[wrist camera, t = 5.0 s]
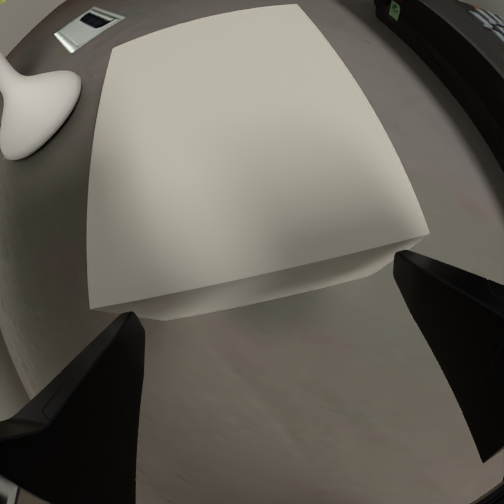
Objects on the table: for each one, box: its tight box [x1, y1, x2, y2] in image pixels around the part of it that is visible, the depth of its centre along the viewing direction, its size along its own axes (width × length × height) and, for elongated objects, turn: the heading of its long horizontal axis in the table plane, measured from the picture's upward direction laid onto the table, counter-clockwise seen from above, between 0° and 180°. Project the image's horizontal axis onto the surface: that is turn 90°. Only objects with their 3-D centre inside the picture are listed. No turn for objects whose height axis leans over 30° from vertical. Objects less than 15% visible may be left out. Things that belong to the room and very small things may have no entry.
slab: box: [87, 4, 430, 321], centre depth 15 cm, size 16×12×8 cm
